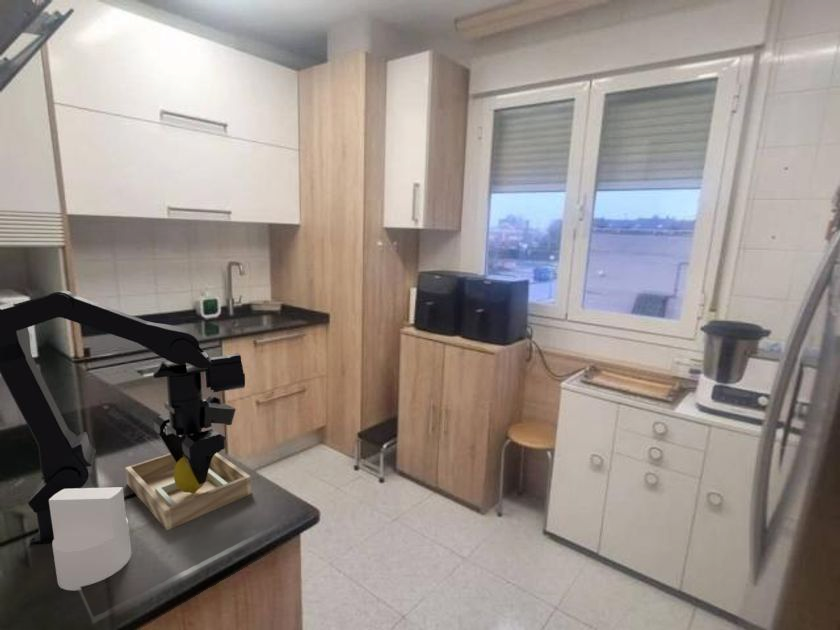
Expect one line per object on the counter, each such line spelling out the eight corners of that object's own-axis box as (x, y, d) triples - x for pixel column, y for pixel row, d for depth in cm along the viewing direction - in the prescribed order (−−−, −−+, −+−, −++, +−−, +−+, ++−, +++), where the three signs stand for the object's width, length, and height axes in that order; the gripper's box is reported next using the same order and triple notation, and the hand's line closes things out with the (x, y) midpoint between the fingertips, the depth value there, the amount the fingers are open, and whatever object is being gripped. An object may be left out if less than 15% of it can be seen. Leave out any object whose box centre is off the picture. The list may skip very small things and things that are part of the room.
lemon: (196, 501, 81) (189, 461, 80) (171, 501, 83) (163, 461, 81) (216, 485, 87) (209, 447, 86) (191, 485, 88) (184, 447, 87)
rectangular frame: (231, 492, 85) (231, 485, 85) (175, 516, 78) (174, 508, 77) (209, 475, 92) (208, 468, 92) (155, 495, 84) (154, 487, 84)
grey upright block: (144, 546, 71) (136, 476, 69) (107, 589, 62) (97, 510, 60) (86, 548, 70) (77, 478, 68) (40, 591, 61) (29, 512, 60)
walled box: (251, 495, 85) (250, 476, 84) (167, 532, 74) (165, 511, 73) (204, 459, 100) (202, 442, 99) (127, 486, 89) (125, 467, 88)
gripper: (251, 396, 81) (256, 475, 84) (208, 377, 94) (213, 446, 96) (187, 413, 73) (194, 500, 76) (149, 389, 86) (157, 464, 88)
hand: (192, 474), depth 84 cm, fingers open, 9 cm apart
